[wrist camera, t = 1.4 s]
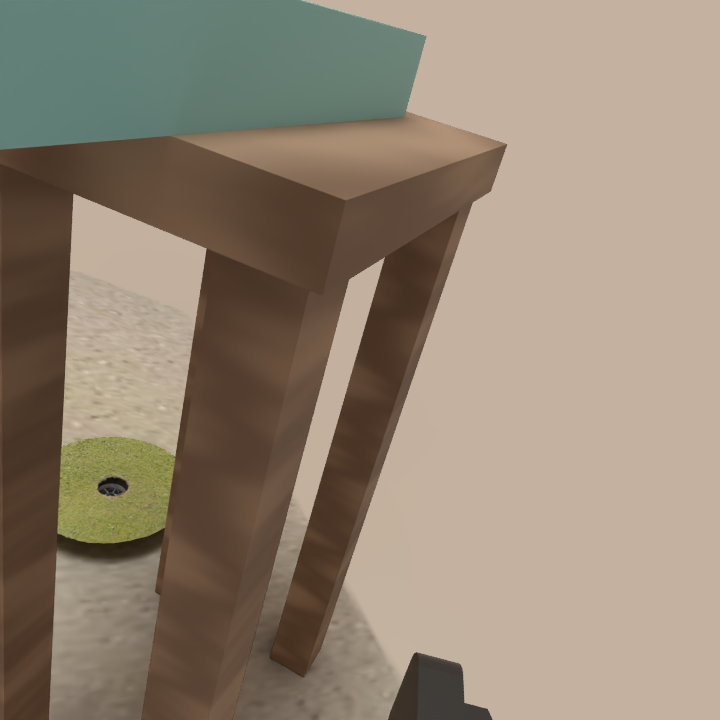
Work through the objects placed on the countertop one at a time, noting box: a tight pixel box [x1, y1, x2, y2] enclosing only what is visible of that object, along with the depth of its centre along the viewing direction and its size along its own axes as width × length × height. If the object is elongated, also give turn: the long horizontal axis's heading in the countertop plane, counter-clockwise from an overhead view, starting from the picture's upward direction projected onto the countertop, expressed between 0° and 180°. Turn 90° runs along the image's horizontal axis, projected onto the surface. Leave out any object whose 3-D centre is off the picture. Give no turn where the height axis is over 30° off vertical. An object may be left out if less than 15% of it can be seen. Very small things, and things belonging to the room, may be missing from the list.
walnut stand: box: [0, 112, 507, 720], centre depth 28 cm, size 12×17×32 cm
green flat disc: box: [57, 437, 175, 544], centre depth 47 cm, size 11×11×2 cm
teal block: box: [0, 0, 426, 150], centre depth 15 cm, size 4×24×3 cm, turn 157°
